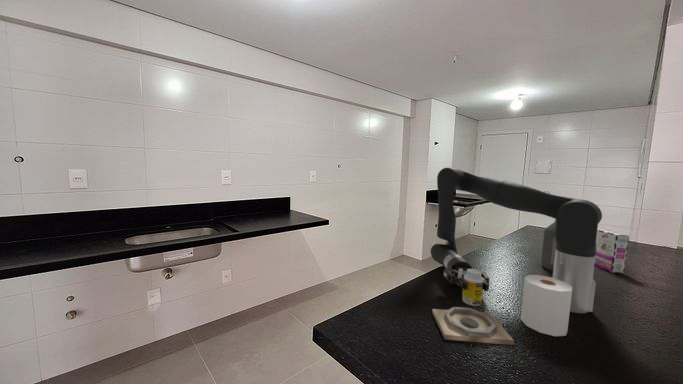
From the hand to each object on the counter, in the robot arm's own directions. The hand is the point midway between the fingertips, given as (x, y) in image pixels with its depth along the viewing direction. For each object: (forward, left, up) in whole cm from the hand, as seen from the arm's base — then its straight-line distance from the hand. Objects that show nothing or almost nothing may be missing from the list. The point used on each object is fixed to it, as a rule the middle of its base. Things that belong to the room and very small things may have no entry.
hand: (476, 287), depth 81 cm
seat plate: (+6, +11, -6) cm, 14 cm away
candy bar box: (-73, -43, -6) cm, 85 cm away
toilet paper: (-15, +7, -6) cm, 18 cm away
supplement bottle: (0, -3, -6) cm, 7 cm away
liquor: (-49, -39, -6) cm, 63 cm away
